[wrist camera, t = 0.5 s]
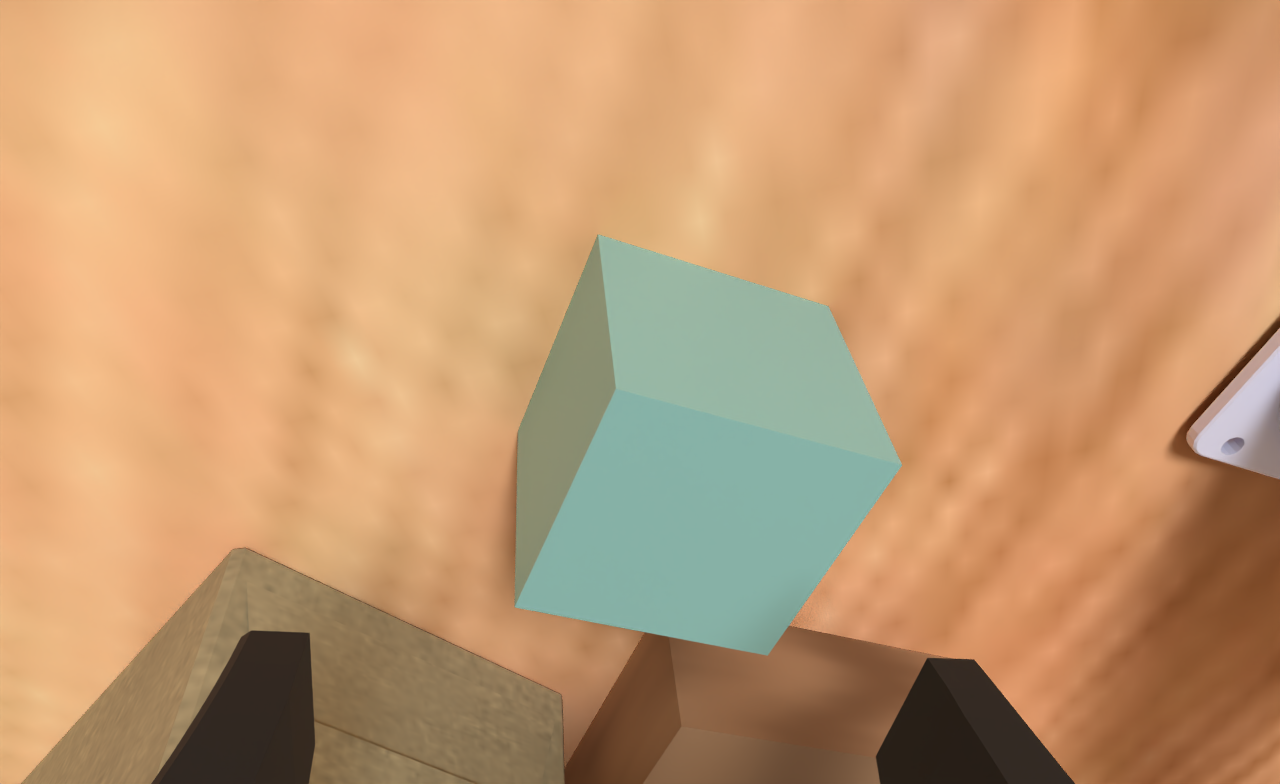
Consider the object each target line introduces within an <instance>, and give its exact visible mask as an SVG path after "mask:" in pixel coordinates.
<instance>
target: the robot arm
mask: <svg viewBox="0 0 1280 784" xmlns="http://www.w3.org/2000/svg"><path fill="white" fill-rule="evenodd" d="M1186 440H1187V443H1188V445H1189V446H1190V447H1191V448H1192V449H1193V450H1194V452H1195V453H1197V454H1198V455H1200V456H1203V457H1207V458H1210V459H1213V460H1216V461H1220V462H1223V463H1226V464H1230V465H1233V466H1236V467H1240V468H1243V469H1246V470H1250V471H1253V472H1256V473H1260V474H1263V475H1266V476H1270V477H1273V478H1276V479H1280V328H1279V329H1278V330H1277V332H1276V333H1275V334H1274V335H1273V336H1272V337H1271V338H1270V339H1269V340H1268V342H1267V343H1266V344H1265V345H1264V346H1263V347H1262V348H1261V349H1260V350H1259V352H1258V353H1257V354H1256V355H1255V356H1254V357H1253V358H1252V359H1251V360H1250V362H1249V363H1248V364H1247V365H1246V366H1245V367H1244V368H1243V369H1242V370H1241V372H1240V373H1239V374H1238V375H1237V376H1236V377H1235V378H1234V379H1233V380H1232V382H1231V383H1230V384H1229V385H1228V386H1227V387H1226V388H1225V389H1224V390H1223V392H1222V393H1221V394H1220V395H1219V396H1218V397H1217V398H1216V399H1215V400H1214V402H1213V403H1212V404H1211V405H1210V406H1209V407H1208V408H1207V409H1206V410H1205V412H1204V413H1203V414H1202V415H1201V416H1200V417H1199V418H1198V419H1197V420H1196V421H1195V423H1194V424H1193V425H1192V426H1191V428H1190V429H1189V431H1188V432H1187V436H1186ZM314 749H315V728H314V708H313V688H312V668H311V649H310V633H305V632H281V631H256V630H251V631H250V632H248V633H246V634H245V635H243V636H242V637H241V638H240V640H239V642H238V644H237V646H236V648H235V649H234V651H233V653H232V655H231V657H230V659H229V661H228V663H227V664H226V666H225V668H224V670H223V671H222V673H221V675H220V677H219V678H218V680H217V682H216V684H215V685H214V687H213V689H212V691H211V692H210V694H209V696H208V697H207V699H206V701H205V702H204V704H203V705H202V707H201V709H200V710H199V712H198V714H197V715H196V717H195V718H194V720H193V721H192V723H191V725H190V726H189V728H188V729H187V731H186V732H185V734H184V736H183V737H182V739H181V740H180V742H179V743H178V745H177V746H176V748H175V750H174V751H173V753H172V754H171V756H170V757H169V759H168V760H167V761H166V763H165V764H164V766H163V767H162V769H161V770H160V772H159V773H158V774H157V776H156V777H155V779H154V780H153V782H152V783H151V784H309V779H310V773H311V767H312V761H313V755H314ZM876 762H877V768H878V773H879V779H880V784H1075V783H1074V782H1073V781H1072V779H1071V778H1070V777H1069V776H1068V775H1067V773H1066V772H1065V771H1064V770H1063V769H1062V767H1061V766H1060V765H1059V764H1058V762H1057V761H1056V760H1055V759H1054V757H1053V756H1052V755H1051V754H1050V753H1049V751H1048V750H1047V749H1046V748H1045V746H1044V745H1043V744H1042V743H1041V741H1040V740H1039V739H1038V738H1037V737H1036V735H1035V734H1034V733H1033V732H1032V730H1031V729H1030V728H1029V727H1028V725H1027V724H1026V723H1025V722H1024V720H1023V719H1022V718H1021V717H1020V715H1019V714H1018V713H1017V712H1016V710H1015V709H1014V708H1013V707H1012V705H1011V704H1010V703H1009V702H1008V700H1007V699H1006V698H1005V697H1004V695H1003V694H1002V693H1001V692H1000V691H999V689H998V688H997V687H996V686H995V684H994V683H993V682H992V681H991V679H990V678H989V677H988V676H987V675H986V673H985V672H984V671H983V670H982V669H981V667H980V666H979V665H978V664H977V662H976V661H975V660H971V659H947V658H927V659H926V661H925V663H924V665H923V667H922V669H921V671H920V673H919V675H918V676H917V678H916V680H915V682H914V684H913V686H912V688H911V690H910V692H909V694H908V696H907V697H906V699H905V701H904V703H903V705H902V707H901V709H900V711H899V713H898V715H897V716H896V718H895V720H894V722H893V724H892V726H891V728H890V730H889V732H888V734H887V736H886V737H885V739H884V741H883V743H882V745H881V747H880V749H879V751H878V753H877V755H876Z"/></svg>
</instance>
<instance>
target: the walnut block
mask: <svg viewBox="0 0 1280 784" xmlns="http://www.w3.org/2000/svg"><path fill="white" fill-rule="evenodd" d="M927 658H946V657H941V656H936V655H931V654H926V653H921V652H916V651H911V650H906V649H901V648H896V647H891V646H886V645H881V644H876V643H871V642H866V641H861V640H856V639H851V638H846V637H841V636H836V635H832V634H827V633H822V632H817V631H812V630H807V629H802V628H797V627H792V626H788V627H787V629H786V630H785V632H784V633H783V635H782V636H781V637H780V639H779V640H778V642H777V643H776V644H775V646H774V647H773V649H772V650H771V652H770V653H769V654H768V656H767V655H762V654H757V653H751V652H746V651H741V650H736V649H730V648H725V647H720V646H715V645H709V644H704V643H699V642H694V641H688V640H683V639H678V638H673V637H668V636H662V635H657V634H652V633H647V632H645V633H644V635H643V637H642V638H641V640H640V642H639V643H638V645H637V647H636V648H635V650H634V652H633V653H632V655H631V657H630V659H629V660H628V662H627V664H626V665H625V667H624V669H623V670H622V672H621V674H620V676H619V677H618V679H617V681H616V682H615V684H614V686H613V687H612V689H611V691H610V693H609V694H608V696H607V698H606V699H605V701H604V703H603V704H602V706H601V708H600V709H599V711H598V713H597V715H596V716H595V718H594V720H593V721H592V723H591V725H590V726H589V728H588V730H587V732H586V733H585V735H584V737H583V738H582V740H581V742H580V743H579V745H578V747H577V748H576V750H575V752H574V754H573V755H572V757H571V759H570V760H569V762H568V764H567V765H566V767H565V769H564V773H565V784H880V779H879V773H878V768H877V762H876V755H877V753H878V751H879V749H880V747H881V745H882V743H883V741H884V739H885V737H886V736H887V734H888V732H889V730H890V728H891V726H892V724H893V722H894V720H895V718H896V716H897V715H898V713H899V711H900V709H901V707H902V705H903V703H904V701H905V699H906V697H907V696H908V694H909V692H910V690H911V688H912V686H913V684H914V682H915V680H916V678H917V676H918V675H919V673H920V671H921V669H922V667H923V665H924V663H925V661H926V659H927ZM947 659H951V658H947Z"/></svg>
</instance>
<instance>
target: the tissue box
mask: <svg viewBox="0 0 1280 784" xmlns="http://www.w3.org/2000/svg"><path fill="white" fill-rule="evenodd" d="M251 630H256V631H281V632H305V633H310V649H311V668H312V688H313V708H314V728H315V749H314V755H313V761H312V767H311V773H310V779H309V784H565V773H564V740H563V708H562V696H561V694H559V693H557V692H555V691H552V690H550V689H548V688H546V687H544V686H542V685H539V684H537V683H535V682H533V681H531V680H529V679H527V678H524V677H522V676H520V675H518V674H516V673H514V672H511V671H509V670H507V669H505V668H503V667H501V666H499V665H496V664H494V663H492V662H490V661H488V660H486V659H483V658H481V657H479V656H477V655H475V654H473V653H471V652H468V651H466V650H464V649H462V648H460V647H458V646H455V645H453V644H451V643H449V642H447V641H445V640H443V639H440V638H438V637H436V636H434V635H432V634H430V633H427V632H425V631H423V630H421V629H419V628H417V627H415V626H412V625H410V624H408V623H406V622H404V621H402V620H399V619H397V618H395V617H393V616H391V615H389V614H387V613H384V612H382V611H380V610H378V609H376V608H374V607H371V606H369V605H367V604H365V603H363V602H361V601H359V600H356V599H354V598H352V597H350V596H348V595H346V594H343V593H341V592H339V591H337V590H335V589H333V588H331V587H328V586H326V585H324V584H322V583H320V582H318V581H315V580H313V579H311V578H309V577H307V576H305V575H303V574H300V573H298V572H296V571H294V570H292V569H290V568H287V567H285V566H283V565H281V564H279V563H277V562H275V561H272V560H270V559H268V558H266V557H264V556H262V555H259V554H257V553H255V552H253V551H251V550H249V549H247V548H238V549H233V550H232V551H231V552H230V553H229V554H228V555H227V556H226V558H225V559H224V560H223V561H222V562H221V563H220V564H219V565H218V566H217V567H216V569H215V570H214V571H213V572H212V573H211V574H210V575H209V576H208V577H207V579H206V580H205V581H204V582H203V583H202V584H201V585H200V586H199V587H198V589H197V590H196V591H195V592H194V593H193V594H192V595H191V596H190V597H189V598H188V600H187V601H186V602H185V603H184V604H183V605H182V606H181V607H180V608H179V610H178V611H177V612H176V613H175V614H174V615H173V616H172V617H171V618H170V620H169V621H168V622H167V623H166V624H165V625H164V626H163V627H162V628H161V629H160V631H159V632H158V633H157V634H156V635H155V636H154V637H153V638H152V639H151V641H150V642H149V643H148V644H147V645H146V646H145V647H144V648H143V649H142V651H141V652H140V653H139V654H138V655H137V656H136V657H135V658H134V659H133V660H132V662H131V663H130V664H129V665H128V666H127V667H126V668H125V669H124V670H123V672H122V673H121V674H120V675H119V676H118V677H117V678H116V679H115V680H114V682H113V683H112V684H111V685H110V686H109V687H108V688H107V689H106V690H105V691H104V693H103V694H102V695H101V696H100V697H99V698H98V699H97V700H96V701H95V703H94V704H93V705H92V706H91V707H90V708H89V709H88V710H87V711H86V713H85V714H84V715H83V716H82V717H81V718H80V719H79V720H78V721H77V722H76V724H75V725H74V726H73V727H72V728H71V729H70V730H69V731H68V732H67V734H66V735H65V736H64V737H63V738H62V739H61V740H60V741H59V742H58V744H57V745H56V746H55V747H54V748H53V749H52V750H51V751H50V752H49V753H48V755H47V756H46V757H45V758H44V759H43V760H42V761H41V762H40V763H39V765H38V766H37V767H36V768H35V769H34V770H33V771H32V772H31V773H30V775H29V776H28V777H27V778H26V779H25V780H24V781H23V782H22V783H21V784H151V783H152V782H153V780H154V779H155V777H156V776H157V774H158V773H159V772H160V770H161V769H162V767H163V766H164V764H165V763H166V761H167V760H168V759H169V757H170V756H171V754H172V753H173V751H174V750H175V748H176V746H177V745H178V743H179V742H180V740H181V739H182V737H183V736H184V734H185V732H186V731H187V729H188V728H189V726H190V725H191V723H192V721H193V720H194V718H195V717H196V715H197V714H198V712H199V710H200V709H201V707H202V705H203V704H204V702H205V701H206V699H207V697H208V696H209V694H210V692H211V691H212V689H213V687H214V685H215V684H216V682H217V680H218V678H219V677H220V675H221V673H222V671H223V670H224V668H225V666H226V664H227V663H228V661H229V659H230V657H231V655H232V653H233V651H234V649H235V648H236V646H237V644H238V642H239V640H240V638H241V637H242V636H243V635H245V634H246V633H248V632H250V631H251Z"/></svg>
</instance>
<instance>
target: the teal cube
mask: <svg viewBox="0 0 1280 784" xmlns="http://www.w3.org/2000/svg"><path fill="white" fill-rule="evenodd" d="M901 466H902V464H901V462H900V459H899V457H898V455H897V453H896V451H895V449H894V447H893V444H892V442H891V440H890V438H889V436H888V434H887V431H886V429H885V427H884V425H883V423H882V421H881V419H880V416H879V414H878V412H877V410H876V408H875V406H874V403H873V401H872V399H871V397H870V395H869V393H868V391H867V388H866V386H865V384H864V382H863V380H862V378H861V375H860V373H859V371H858V369H857V367H856V365H855V363H854V360H853V358H852V356H851V354H850V352H849V350H848V347H847V345H846V343H845V341H844V339H843V337H842V335H841V332H840V330H839V328H838V326H837V324H836V322H835V319H834V317H833V315H832V313H831V311H830V309H829V306H826V305H822V304H819V303H816V302H813V301H810V300H806V299H803V298H800V297H797V296H794V295H790V294H787V293H784V292H781V291H778V290H774V289H771V288H768V287H765V286H762V285H758V284H755V283H752V282H749V281H746V280H742V279H739V278H736V277H733V276H730V275H726V274H723V273H720V272H717V271H714V270H710V269H707V268H704V267H701V266H698V265H694V264H691V263H688V262H685V261H682V260H678V259H675V258H672V257H669V256H666V255H662V254H659V253H656V252H653V251H650V250H646V249H643V248H640V247H637V246H634V245H630V244H627V243H624V242H621V241H618V240H614V239H611V238H608V237H605V236H602V235H598V236H597V238H596V241H595V243H594V245H593V248H592V250H591V253H590V255H589V258H588V260H587V263H586V265H585V268H584V270H583V273H582V275H581V277H580V280H579V282H578V285H577V287H576V290H575V292H574V295H573V297H572V300H571V302H570V304H569V307H568V309H567V312H566V314H565V317H564V319H563V322H562V324H561V327H560V329H559V331H558V334H557V336H556V339H555V341H554V344H553V346H552V349H551V351H550V354H549V356H548V358H547V361H546V363H545V366H544V368H543V371H542V373H541V376H540V378H539V381H538V383H537V385H536V388H535V390H534V393H533V395H532V398H531V400H530V403H529V405H528V408H527V410H526V412H525V415H524V417H523V420H522V422H521V425H520V427H519V430H518V451H517V504H516V557H515V607H516V608H521V609H526V610H532V611H537V612H542V613H547V614H552V615H558V616H563V617H568V618H573V619H579V620H584V621H589V622H594V623H600V624H605V625H610V626H615V627H620V628H626V629H631V630H636V631H641V632H647V633H652V634H657V635H662V636H668V637H673V638H678V639H683V640H688V641H694V642H699V643H704V644H709V645H715V646H720V647H725V648H730V649H736V650H741V651H746V652H751V653H757V654H762V655H767V656H768V654H769V653H770V652H771V650H772V649H773V647H774V646H775V644H776V643H777V642H778V640H779V639H780V637H781V636H782V635H783V633H784V632H785V630H786V629H787V627H788V626H789V625H790V623H791V622H792V620H793V619H794V618H795V616H796V615H797V613H798V612H799V610H800V609H801V608H802V606H803V605H804V603H805V602H806V601H807V599H808V598H809V596H810V595H811V593H812V592H813V591H814V589H815V588H816V586H817V585H818V584H819V582H820V581H821V579H822V578H823V576H824V575H825V574H826V572H827V571H828V569H829V568H830V567H831V565H832V564H833V562H834V561H835V559H836V558H837V557H838V555H839V554H840V552H841V551H842V550H843V548H844V547H845V545H846V544H847V542H848V541H849V540H850V538H851V537H852V535H853V534H854V533H855V531H856V530H857V528H858V527H859V525H860V524H861V523H862V521H863V520H864V518H865V517H866V516H867V514H868V513H869V511H870V510H871V508H872V507H873V506H874V504H875V503H876V501H877V500H878V499H879V497H880V496H881V494H882V493H883V491H884V490H885V489H886V487H887V486H888V484H889V483H890V482H891V480H892V479H893V477H894V476H895V474H896V473H897V472H898V470H899V469H900V467H901Z"/></svg>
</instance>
